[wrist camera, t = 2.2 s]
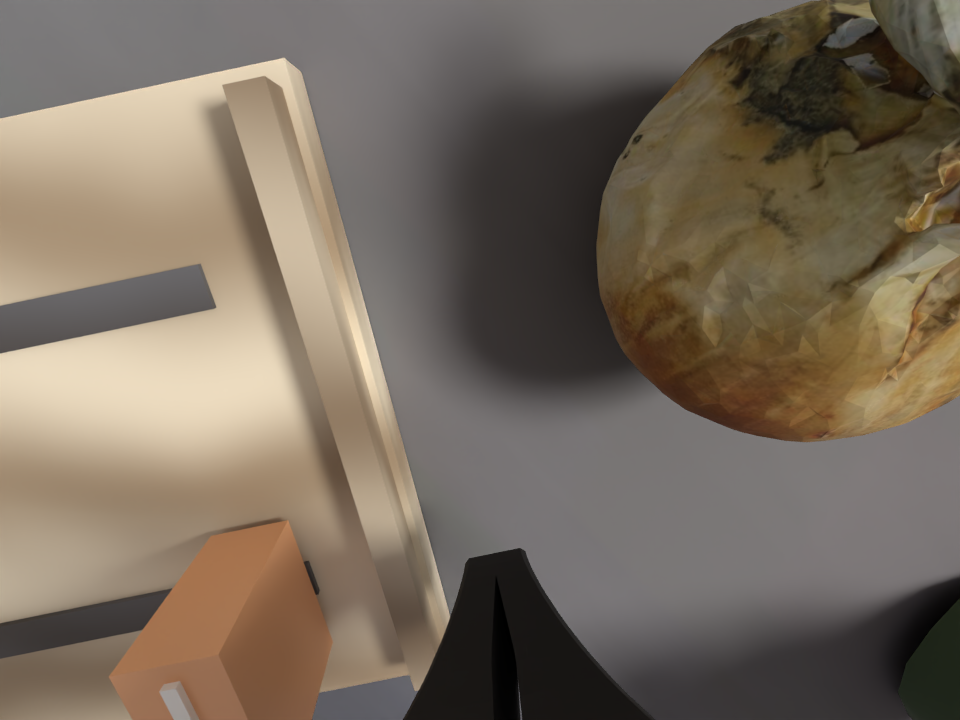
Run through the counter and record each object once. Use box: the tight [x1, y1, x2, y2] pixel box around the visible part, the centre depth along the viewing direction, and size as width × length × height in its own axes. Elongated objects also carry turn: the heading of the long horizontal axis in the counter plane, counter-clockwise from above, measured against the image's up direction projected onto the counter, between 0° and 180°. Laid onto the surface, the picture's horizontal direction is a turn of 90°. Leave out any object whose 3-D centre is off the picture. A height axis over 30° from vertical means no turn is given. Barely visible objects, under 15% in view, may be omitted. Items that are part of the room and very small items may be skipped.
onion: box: [596, 0, 960, 442], centre depth 9 cm, size 8×8×8 cm
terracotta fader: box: [109, 520, 333, 720], centre depth 11 cm, size 4×2×4 cm, turn 11°
